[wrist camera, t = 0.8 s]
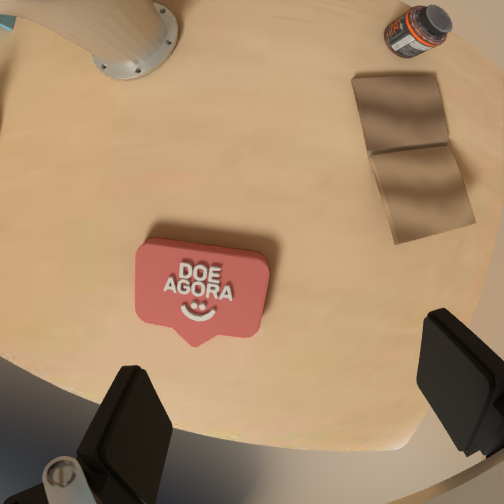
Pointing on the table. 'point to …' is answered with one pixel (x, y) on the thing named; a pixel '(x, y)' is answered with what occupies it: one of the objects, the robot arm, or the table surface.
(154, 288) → the plaque
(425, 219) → the plank
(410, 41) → the supplement bottle
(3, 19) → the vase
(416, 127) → the brown wooden board
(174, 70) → the table surface
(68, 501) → the robot arm
